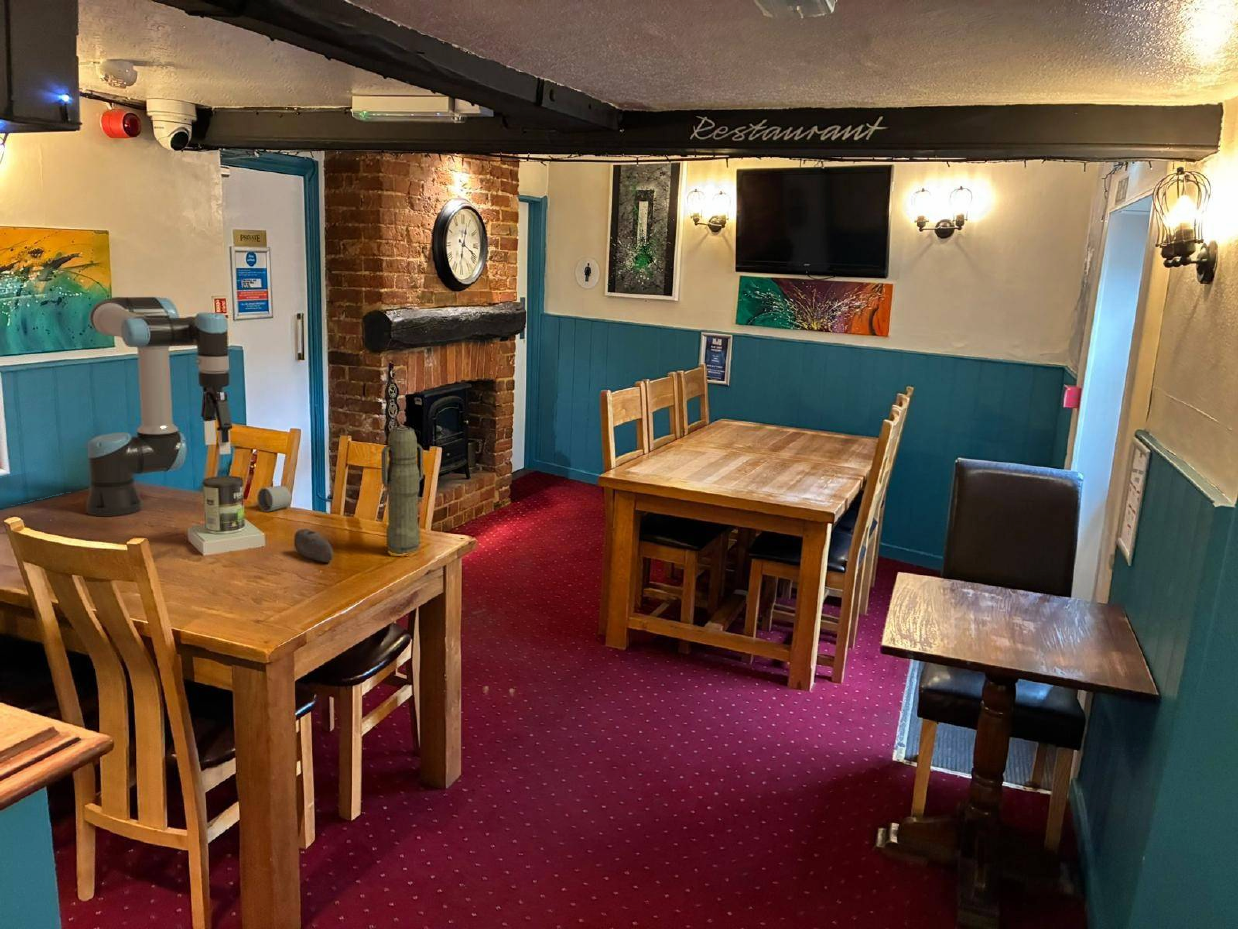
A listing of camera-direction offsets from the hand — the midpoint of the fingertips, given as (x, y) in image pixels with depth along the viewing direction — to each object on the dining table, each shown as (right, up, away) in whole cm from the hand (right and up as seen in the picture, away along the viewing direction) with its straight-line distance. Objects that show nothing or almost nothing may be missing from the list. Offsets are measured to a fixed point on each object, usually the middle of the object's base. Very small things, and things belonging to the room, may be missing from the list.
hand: (217, 449), depth 248 cm
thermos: (+50, -29, +4) cm, 58 cm away
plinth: (0, -26, +5) cm, 27 cm away
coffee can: (0, -22, +5) cm, 23 cm away
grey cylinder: (-1, -18, +41) cm, 45 cm away
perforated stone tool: (+28, -30, -4) cm, 41 cm away
